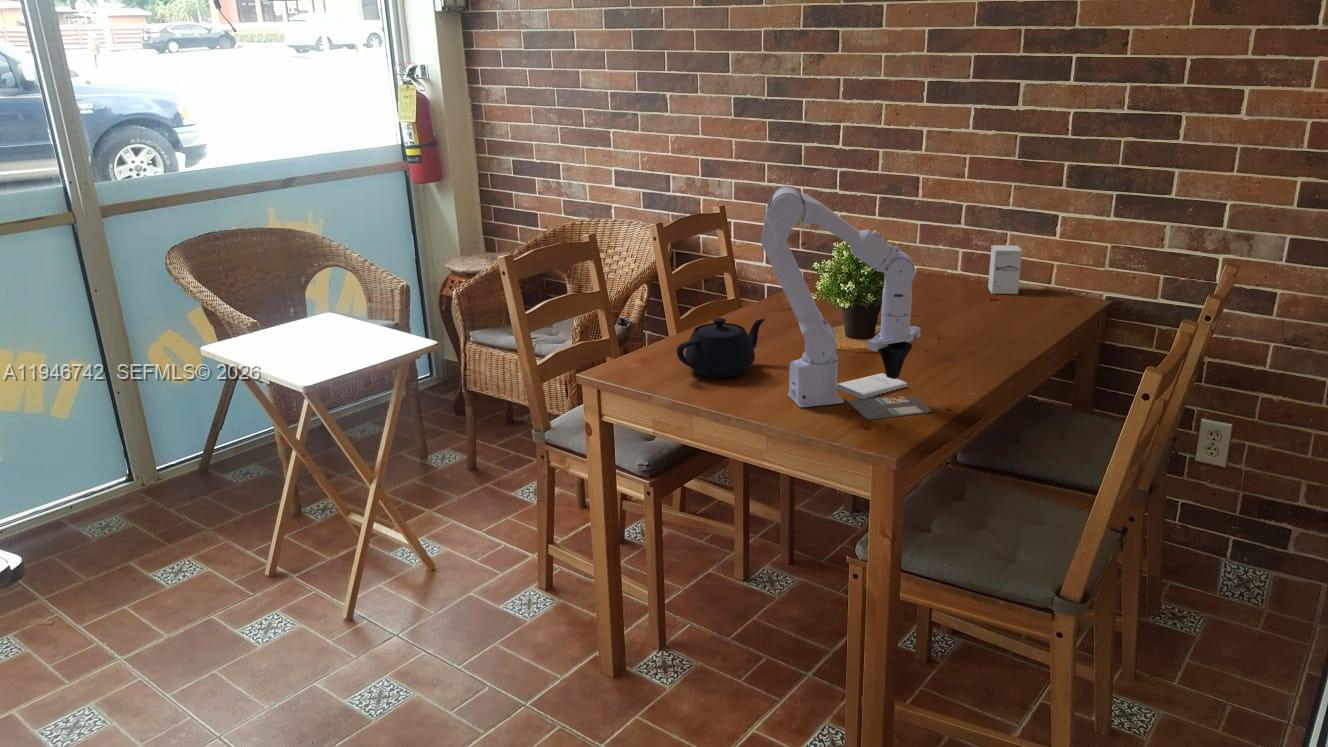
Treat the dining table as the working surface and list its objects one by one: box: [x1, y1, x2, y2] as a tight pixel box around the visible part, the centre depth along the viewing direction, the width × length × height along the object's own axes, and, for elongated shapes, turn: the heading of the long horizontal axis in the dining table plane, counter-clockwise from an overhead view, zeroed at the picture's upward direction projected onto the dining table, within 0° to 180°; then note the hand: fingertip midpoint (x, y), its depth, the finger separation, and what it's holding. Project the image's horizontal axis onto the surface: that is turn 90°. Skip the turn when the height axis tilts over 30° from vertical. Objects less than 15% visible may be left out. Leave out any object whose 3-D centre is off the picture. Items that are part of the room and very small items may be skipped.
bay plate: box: [846, 393, 933, 421], centre depth 206 cm, size 14×11×1 cm
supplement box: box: [987, 244, 1023, 295], centre depth 288 cm, size 7×7×13 cm
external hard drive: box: [837, 372, 908, 399], centre depth 217 cm, size 2×8×12 cm
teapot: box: [676, 317, 766, 379], centre depth 229 cm, size 25×16×12 cm, turn 126°
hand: (892, 377), depth 208 cm, fingers closed
